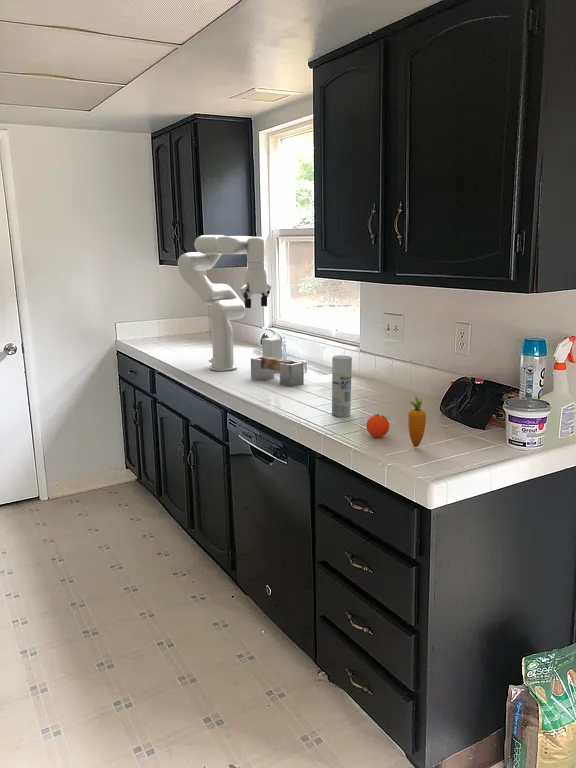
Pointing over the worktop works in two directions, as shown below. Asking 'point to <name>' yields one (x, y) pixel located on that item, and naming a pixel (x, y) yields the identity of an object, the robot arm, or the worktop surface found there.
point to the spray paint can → (341, 385)
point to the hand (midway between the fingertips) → (256, 307)
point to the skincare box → (272, 348)
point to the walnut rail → (273, 363)
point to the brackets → (288, 372)
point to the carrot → (416, 422)
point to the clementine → (377, 425)
